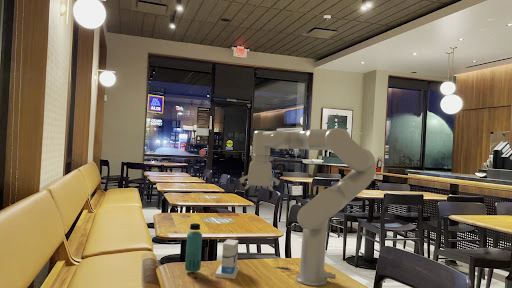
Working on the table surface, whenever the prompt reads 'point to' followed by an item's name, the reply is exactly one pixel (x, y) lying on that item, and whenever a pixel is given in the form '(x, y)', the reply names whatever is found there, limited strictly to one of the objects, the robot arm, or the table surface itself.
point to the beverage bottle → (193, 249)
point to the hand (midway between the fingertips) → (258, 199)
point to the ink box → (229, 256)
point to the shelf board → (226, 275)
